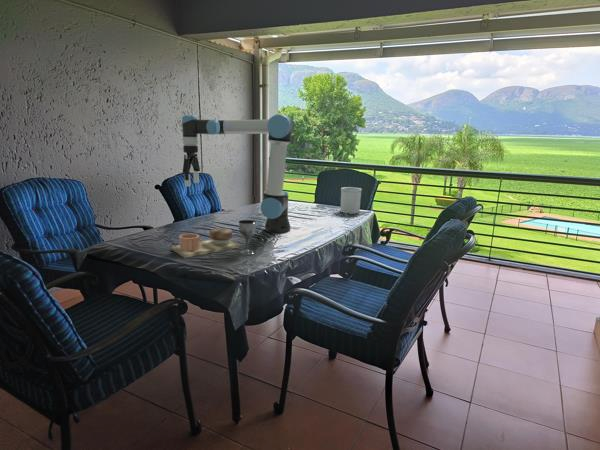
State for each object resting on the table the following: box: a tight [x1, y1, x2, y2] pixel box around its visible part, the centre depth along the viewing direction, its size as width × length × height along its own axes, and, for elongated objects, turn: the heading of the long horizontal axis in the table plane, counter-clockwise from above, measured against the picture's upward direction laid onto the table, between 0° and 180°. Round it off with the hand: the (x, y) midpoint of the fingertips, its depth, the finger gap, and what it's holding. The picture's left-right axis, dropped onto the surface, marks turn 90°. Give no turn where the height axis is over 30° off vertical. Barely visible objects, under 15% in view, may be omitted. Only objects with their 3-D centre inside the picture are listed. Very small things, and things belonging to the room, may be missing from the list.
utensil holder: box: [340, 186, 363, 215], centre depth 276 cm, size 15×15×18 cm
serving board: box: [171, 239, 240, 259], centre depth 184 cm, size 28×15×2 cm, turn 130°
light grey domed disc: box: [213, 239, 230, 245], centre depth 188 cm, size 8×8×3 cm
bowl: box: [178, 233, 200, 251], centre depth 178 cm, size 9×9×6 cm
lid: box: [209, 227, 233, 240], centre depth 188 cm, size 11×11×3 cm
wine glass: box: [238, 219, 257, 256], centre depth 178 cm, size 8×8×15 cm
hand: (192, 184), depth 209 cm, fingers open, 13 cm apart
